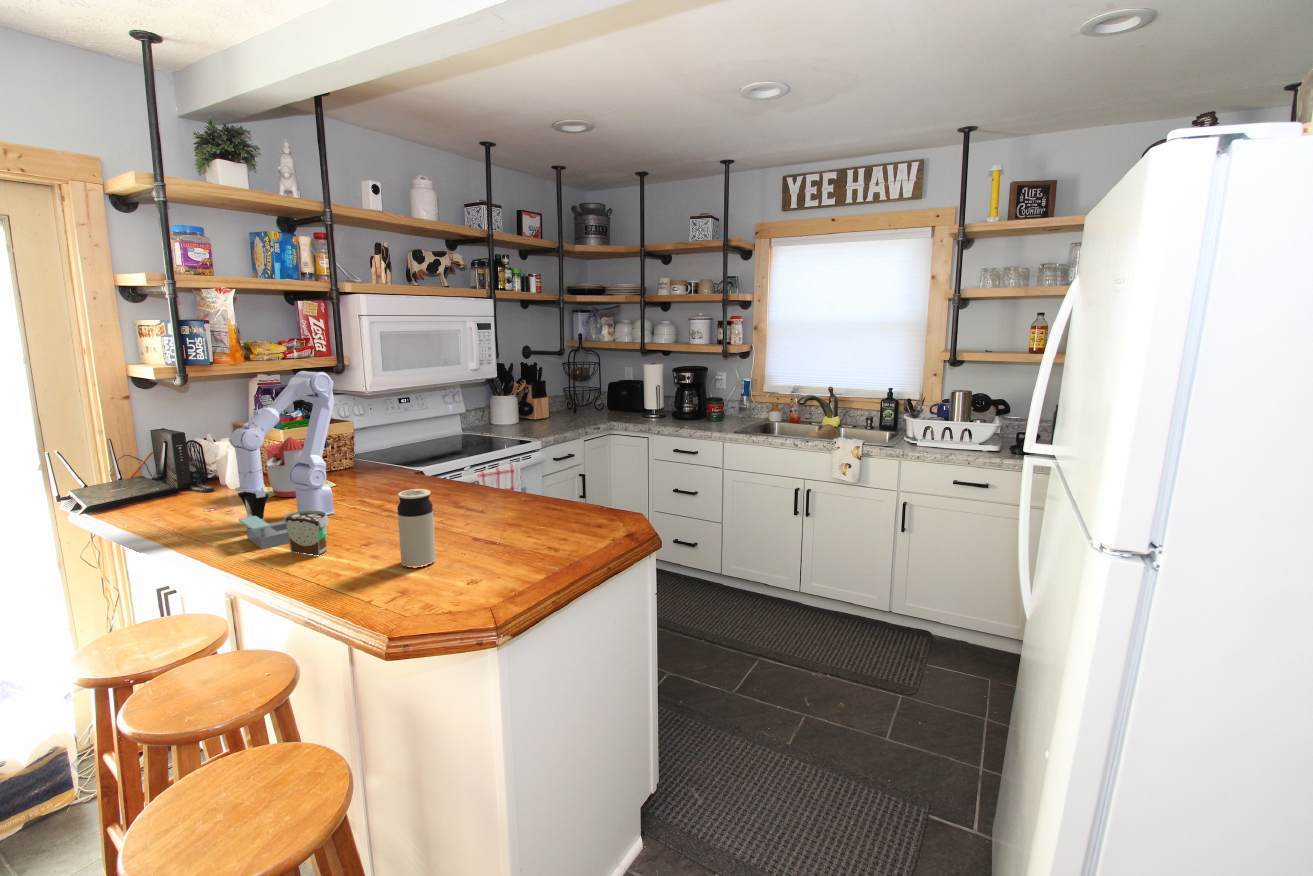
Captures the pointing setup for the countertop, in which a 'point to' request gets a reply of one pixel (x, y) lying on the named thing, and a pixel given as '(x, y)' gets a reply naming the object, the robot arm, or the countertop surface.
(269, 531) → the socket block
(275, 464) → the citrus juicer
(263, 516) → the peg
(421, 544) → the travel mug
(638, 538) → the countertop surface
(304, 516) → the food container
